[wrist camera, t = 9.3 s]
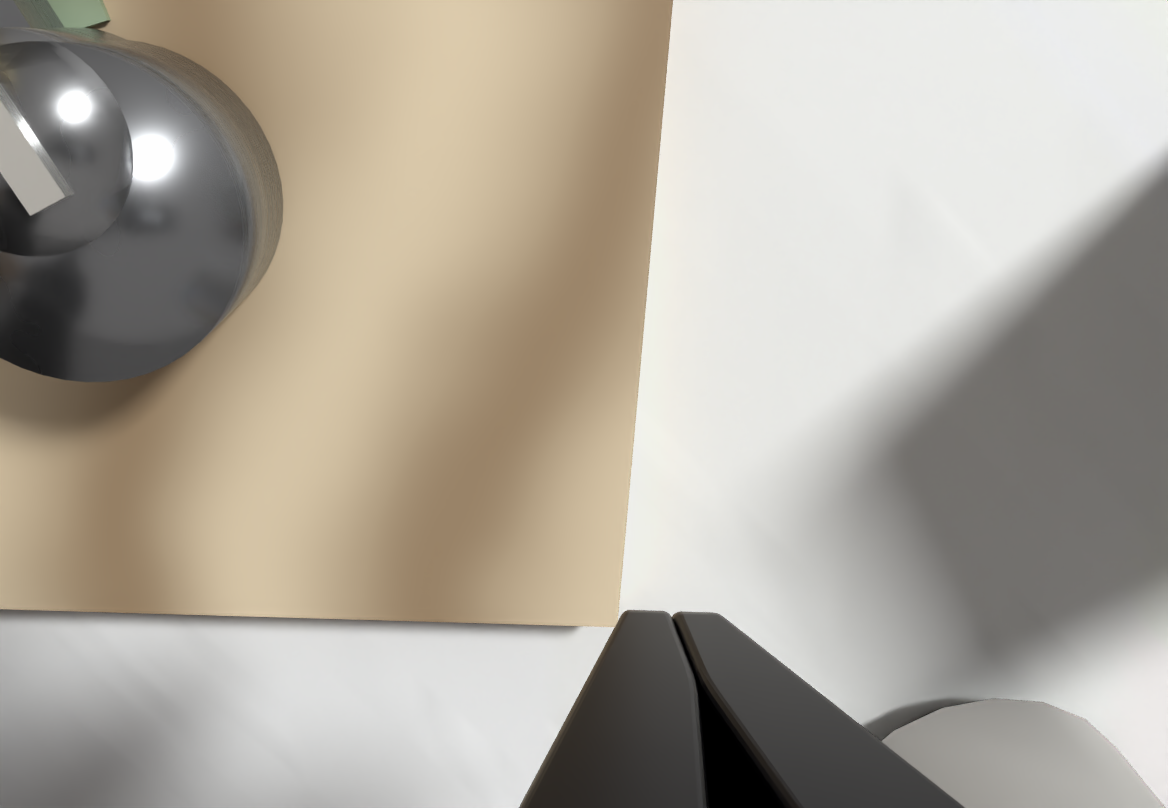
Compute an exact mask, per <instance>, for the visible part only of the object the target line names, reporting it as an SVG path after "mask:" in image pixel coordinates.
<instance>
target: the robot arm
mask: <svg viewBox="0 0 1168 808" xmlns="http://www.w3.org/2000/svg"><path fill="white" fill-rule="evenodd" d="M519 808H965V807H964V806H963V805H961V804H960V803H959V802H958V801H956V800H955V799H954V798H952V797H951V796H950V795H949V794H947V793H946V792H945V791H944V790H942V789H941V788H940V787H939V786H937V785H936V784H935V783H933V782H932V781H931V780H930V779H928V778H927V777H926V776H925V775H923V774H922V773H921V772H919V771H918V770H917V769H916V768H914V767H913V766H912V765H911V764H909V763H908V762H907V761H906V760H904V759H903V758H902V757H900V756H899V755H898V754H897V753H895V752H894V751H893V750H892V749H890V748H889V747H888V746H887V745H885V744H884V743H883V742H881V741H880V740H879V739H878V738H876V737H875V736H874V735H873V734H871V733H870V732H869V731H867V730H866V729H865V728H864V727H862V726H861V725H860V724H859V723H857V722H856V721H855V720H854V719H852V718H851V717H850V716H848V715H847V714H846V713H845V712H843V711H842V710H841V709H840V708H838V707H837V706H836V705H834V704H833V703H832V702H831V701H829V700H828V699H827V698H826V697H824V696H823V695H822V694H821V693H819V692H818V691H817V690H815V689H814V688H813V687H812V686H810V685H809V684H808V683H807V682H805V681H804V680H803V679H802V678H800V677H799V676H798V675H796V674H795V673H794V672H793V671H791V670H790V669H789V668H788V667H786V666H785V665H784V664H782V663H781V662H780V661H779V660H777V659H776V658H775V657H774V656H772V655H771V654H770V653H769V652H767V651H766V650H765V649H763V648H762V647H761V646H760V645H758V644H757V643H756V642H755V641H753V640H752V639H751V638H749V637H748V636H747V635H746V634H744V633H743V632H742V631H741V630H739V629H738V628H737V627H736V626H734V625H733V624H732V623H730V622H729V621H728V620H727V619H725V618H724V617H723V616H721V615H720V614H717V613H711V612H677V613H675V614H674V615H673V616H672V617H671V616H670V614H669V613H667V612H665V611H646V610H627V611H625V612H624V613H623V614H622V615H621V617H620V618H619V620H618V622H617V624H616V626H615V628H614V630H613V632H612V634H611V635H610V637H609V639H608V641H607V643H606V645H605V647H604V649H603V650H602V652H601V654H600V656H599V658H598V660H597V662H596V664H595V665H594V667H593V669H592V671H591V673H590V675H589V677H588V679H587V681H586V682H585V684H584V686H583V688H582V690H581V692H580V694H579V696H578V697H577V699H576V701H575V703H574V705H573V707H572V709H571V711H570V713H569V714H568V716H567V718H566V720H565V722H564V724H563V726H562V728H561V729H560V731H559V733H558V735H557V737H556V739H555V741H554V743H553V744H552V746H551V748H550V750H549V752H548V754H547V756H546V758H545V760H544V761H543V763H542V765H541V767H540V769H539V771H538V773H537V775H536V776H535V778H534V780H533V782H532V784H531V786H530V788H529V790H528V791H527V793H526V795H525V797H524V799H523V801H522V803H521V805H520V807H519Z"/></svg>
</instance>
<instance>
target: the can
mask: <svg viewBox="0 0 1168 808" xmlns="http://www.w3.org/2000/svg"><path fill="white" fill-rule="evenodd" d="M881 742H883V743H884V744H885V745H887V746H888V747H889V748H890V749H892V750H893V751H894V752H895V753H897V754H898V755H899V756H900V757H902V758H903V759H904V760H906V761H907V762H908V763H909V764H911V765H912V766H913V767H914V768H916V769H917V770H918V771H919V772H921V773H922V774H923V775H925V776H926V777H927V778H928V779H930V780H931V781H932V782H933V783H935V784H936V785H937V786H939V787H940V788H941V789H942V790H944V791H945V792H946V793H947V794H949V795H950V796H951V797H952V798H954V799H955V800H956V801H958V802H959V803H960V804H961V805H963V806H964V807H965V808H1165V806H1164V805H1163V804H1162V803H1161V801H1160V800H1159V799H1158V798H1157V797H1156V795H1155V794H1154V793H1153V792H1152V790H1151V789H1150V788H1149V787H1148V786H1147V784H1146V783H1145V782H1144V781H1143V779H1142V778H1141V777H1140V776H1139V775H1138V773H1137V772H1136V771H1135V770H1134V768H1133V767H1132V766H1131V765H1130V764H1129V762H1128V761H1127V760H1126V759H1125V757H1124V756H1123V755H1122V754H1121V753H1120V751H1119V750H1118V749H1117V748H1116V747H1115V746H1114V745H1113V744H1112V743H1111V742H1110V741H1109V740H1108V739H1107V738H1106V737H1105V736H1103V735H1102V734H1101V733H1100V732H1099V731H1098V730H1097V729H1096V728H1095V727H1094V726H1093V725H1091V724H1090V723H1089V722H1088V721H1087V720H1086V719H1084V718H1082V717H1079V716H1077V715H1074V714H1072V713H1069V712H1067V711H1064V710H1062V709H1059V708H1057V707H1054V706H1052V705H1049V704H1047V703H1044V702H1035V701H1022V700H1009V699H996V698H992V699H987V700H982V701H977V702H971V703H966V704H961V705H956V706H950V707H945V708H941V709H939V710H937V711H934V712H932V713H930V714H928V715H926V716H924V717H921V718H919V719H917V720H915V721H913V722H911V723H909V724H907V725H904V726H902V727H900V728H898V729H896V730H894V731H893V732H892V733H890V734H889V735H888V736H887V737H886V738H885V739H883V740H882V741H881Z"/></svg>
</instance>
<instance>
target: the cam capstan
mask: <svg viewBox="0 0 1168 808" xmlns="http://www.w3.org/2000/svg"><path fill="white" fill-rule="evenodd" d="M282 222H283V193H282V183H281V179H280V174H279V170H278V166H277V162H276V160H275V157H274V154H273V151H272V149H271V146H270V144H269V142H268V140H267V138H266V136H265V134H264V132H263V130H262V128H261V126H260V125H259V123H258V122H257V120H256V119H255V117H254V116H253V114H252V113H251V111H250V110H249V109H248V107H247V106H246V105H245V104H244V103H243V102H242V100H241V99H240V98H239V97H238V96H237V95H236V93H235V92H233V91H232V90H231V89H230V88H229V87H228V86H227V85H226V84H225V83H224V82H223V81H222V80H220V79H219V78H218V77H217V76H215V75H214V74H212V73H211V72H210V71H208V70H207V69H206V68H204V67H203V66H201V65H199V64H198V63H196V62H194V61H192V60H190V59H189V58H187V57H185V56H183V55H181V54H178V53H176V52H173V51H171V50H168V49H166V48H164V47H160V46H156V45H152V44H149V43H145V42H139V41H132V40H126V39H124V38H122V37H119V36H117V35H114V34H112V33H109V32H105V31H101V30H98V29H91V28H65V27H64V26H63V24H62V23H61V21H60V20H59V18H58V16H57V15H56V13H55V12H54V10H53V8H52V7H51V5H50V4H49V2H48V1H47V0H0V358H1V359H3V360H6V361H8V362H10V363H12V364H14V365H16V366H18V367H20V368H23V369H26V370H29V371H32V372H35V373H38V374H41V375H44V376H49V377H53V378H58V379H62V380H70V381H79V382H110V381H117V380H125V379H130V378H134V377H137V376H141V375H145V374H148V373H151V372H153V371H155V370H158V369H160V368H162V367H165V366H167V365H169V364H170V363H172V362H174V361H175V360H177V359H179V358H180V357H182V356H184V355H185V354H186V353H187V352H189V351H190V350H191V349H192V348H194V347H195V346H196V345H197V344H199V343H200V342H201V341H202V340H203V339H204V338H205V337H206V336H207V335H208V334H209V333H210V332H211V331H212V330H213V329H214V328H215V327H216V326H217V325H219V324H220V323H221V322H222V321H223V320H224V319H225V318H226V317H227V316H228V315H229V314H230V313H231V312H232V311H233V310H234V309H235V308H236V307H237V306H238V305H239V304H240V303H241V302H242V301H244V300H245V299H246V297H247V296H248V295H249V294H250V293H251V292H252V291H253V290H254V289H255V288H256V287H257V285H258V284H259V282H260V281H261V279H262V278H263V276H264V275H265V273H266V272H267V270H268V268H269V266H270V264H271V262H272V259H273V257H274V255H275V252H276V249H277V246H278V243H279V239H280V234H281V228H282Z"/></svg>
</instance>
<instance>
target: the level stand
mask: <svg viewBox="0 0 1168 808" xmlns="http://www.w3.org/2000/svg"><path fill="white" fill-rule="evenodd" d="M47 1H48V2H49V4H50V5H51V7H52V8H53V10H54V12H55V13H56V15H57V16H58V18H59V20H60V21H61V23H62V24H63V26H64V27H65V28H91V29H98V30H101V31H105V32H109V33H112V34H114V35H117V36H119V37H122V38H124V39H126V40H132V41H139V42H145V43H149V44H152V45H156V46H160V47H164V48H166V49H168V50H171V51H173V52H176V53H178V54H181V55H183V56H185V57H187V58H189V59H190V60H192V61H194V62H196V63H198V64H199V65H201V66H203V67H204V68H206V69H207V70H208V71H210V72H211V73H212V74H214V75H215V76H217V77H218V78H219V79H220V80H222V81H223V82H224V83H225V84H226V85H227V86H228V87H229V88H230V89H231V90H232V91H233V92H235V93H236V95H237V96H238V97H239V98H240V99H241V100H242V102H243V103H244V104H245V105H246V106H247V107H248V109H249V110H250V111H251V113H252V114H253V116H254V117H255V119H256V120H257V122H258V123H259V125H260V126H261V128H262V130H263V132H264V134H265V136H266V138H267V140H268V142H269V144H270V146H271V149H272V151H273V154H274V157H275V160H276V162H277V166H278V170H279V174H280V179H281V183H282V193H283V222H282V228H281V234H280V239H279V243H278V246H277V249H276V252H275V255H274V257H273V259H272V262H271V264H270V266H269V268H268V270H267V272H266V273H265V275H264V276H263V278H262V279H261V281H260V282H259V284H258V285H257V287H256V288H255V289H254V290H253V291H252V292H251V293H250V294H249V295H248V296H247V297H246V299H245V300H244V301H242V302H241V303H240V304H239V305H238V306H237V307H236V308H235V309H234V310H233V311H232V312H231V313H230V314H229V315H228V316H227V317H226V318H225V319H224V320H223V321H222V322H221V323H220V324H219V325H217V326H216V327H215V328H214V329H213V330H212V331H211V332H210V333H209V334H208V335H207V336H206V337H205V338H204V339H203V340H202V341H201V342H200V343H199V344H197V345H196V346H195V347H194V348H192V349H191V350H190V351H189V352H187V353H186V354H185V355H184V356H182V357H180V358H179V359H177V360H175V361H174V362H172V363H170V364H169V365H167V366H165V367H162V368H160V369H158V370H155V371H153V372H151V373H148V374H145V375H141V376H137V377H134V378H130V379H125V380H117V381H110V382H79V381H70V380H62V379H58V378H53V377H49V376H44V375H41V374H38V373H35V372H32V371H29V370H26V369H23V368H20V367H18V366H16V365H14V364H12V363H10V362H8V361H6V360H3V359H1V358H0V609H11V610H46V611H80V612H114V613H149V614H183V615H217V616H252V617H286V618H320V619H354V620H389V621H423V622H457V623H492V624H526V625H560V626H595V627H615V626H616V624H617V622H618V612H619V600H620V589H621V578H622V567H623V555H624V544H625V533H626V522H627V510H628V499H629V488H630V477H631V466H632V454H633V443H634V432H635V421H636V409H637V398H638V387H639V376H640V364H641V353H642V342H643V331H644V320H645V308H646V297H647V286H648V275H649V263H650V252H651V241H652V230H653V218H654V207H655V196H656V185H657V174H658V162H659V151H660V140H661V129H662V117H663V106H664V95H665V84H666V73H667V61H668V50H669V39H670V28H671V16H672V5H673V0H47Z"/></svg>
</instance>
